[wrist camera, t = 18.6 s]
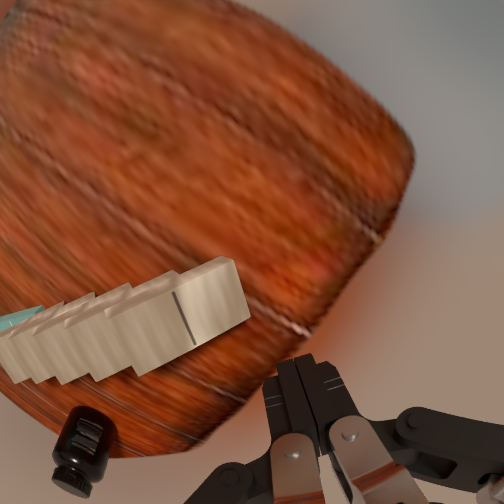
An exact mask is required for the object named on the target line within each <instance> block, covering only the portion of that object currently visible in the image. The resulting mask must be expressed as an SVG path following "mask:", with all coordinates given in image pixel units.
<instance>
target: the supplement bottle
mask: <svg viewBox="0 0 504 504" xmlns="http://www.w3.org/2000/svg"><path fill="white" fill-rule="evenodd" d="M115 434H116V429H115V426H114V424H113V423H112V421H111V420H110V419H109V418H108V417H106V416H105V415H104V414H102V413H101V412H99V411H97V410H95V409H92V408H90V407H86V406H76V407H74V408H73V409H72V410H71V412H70V414H69V416H68V418H67V420H66V422H65V424H64V427H63V429H62V431H61V433H60V436H59V438H58V440H57V443H56V445H55V447H54V450H53V453H52V457H53V460H54V462H55V464H56V465H57V466H58V467H57V468H55V469H54V473H53V476H52V481H53V482H54V483H55V484H56V485H57V486H59V487H60V488H62V489H63V490H65V491H67V492H69V493H71V494H74V495H76V496H78V497H82V498H89V497H90V493H91V490H92V488H93V486H92V485H91V483H98V482H100V481H101V480H102V479H103V477H104V473H105V470H106V466H107V462H108V459H109V455H110V452H111V448H112V445H113V441H114V438H115Z"/></svg>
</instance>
